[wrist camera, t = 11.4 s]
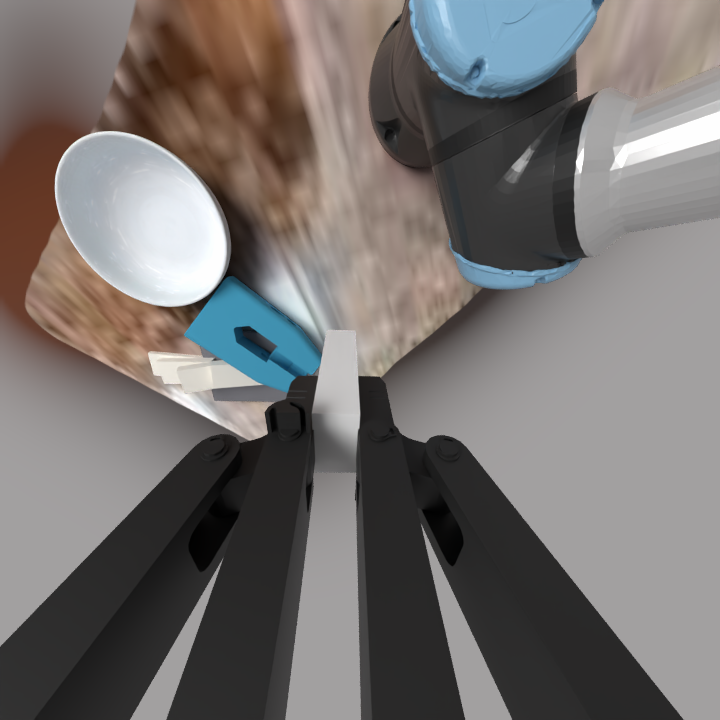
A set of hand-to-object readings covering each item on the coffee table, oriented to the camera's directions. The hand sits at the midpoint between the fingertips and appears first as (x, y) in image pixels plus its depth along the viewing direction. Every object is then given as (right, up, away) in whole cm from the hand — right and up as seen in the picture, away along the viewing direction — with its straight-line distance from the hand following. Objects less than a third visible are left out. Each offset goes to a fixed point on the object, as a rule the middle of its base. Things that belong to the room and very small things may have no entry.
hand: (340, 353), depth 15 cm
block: (-8, -3, +36) cm, 37 cm away
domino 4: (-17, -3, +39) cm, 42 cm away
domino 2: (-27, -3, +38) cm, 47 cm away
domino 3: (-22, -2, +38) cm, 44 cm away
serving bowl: (-28, +20, +27) cm, 44 cm away
